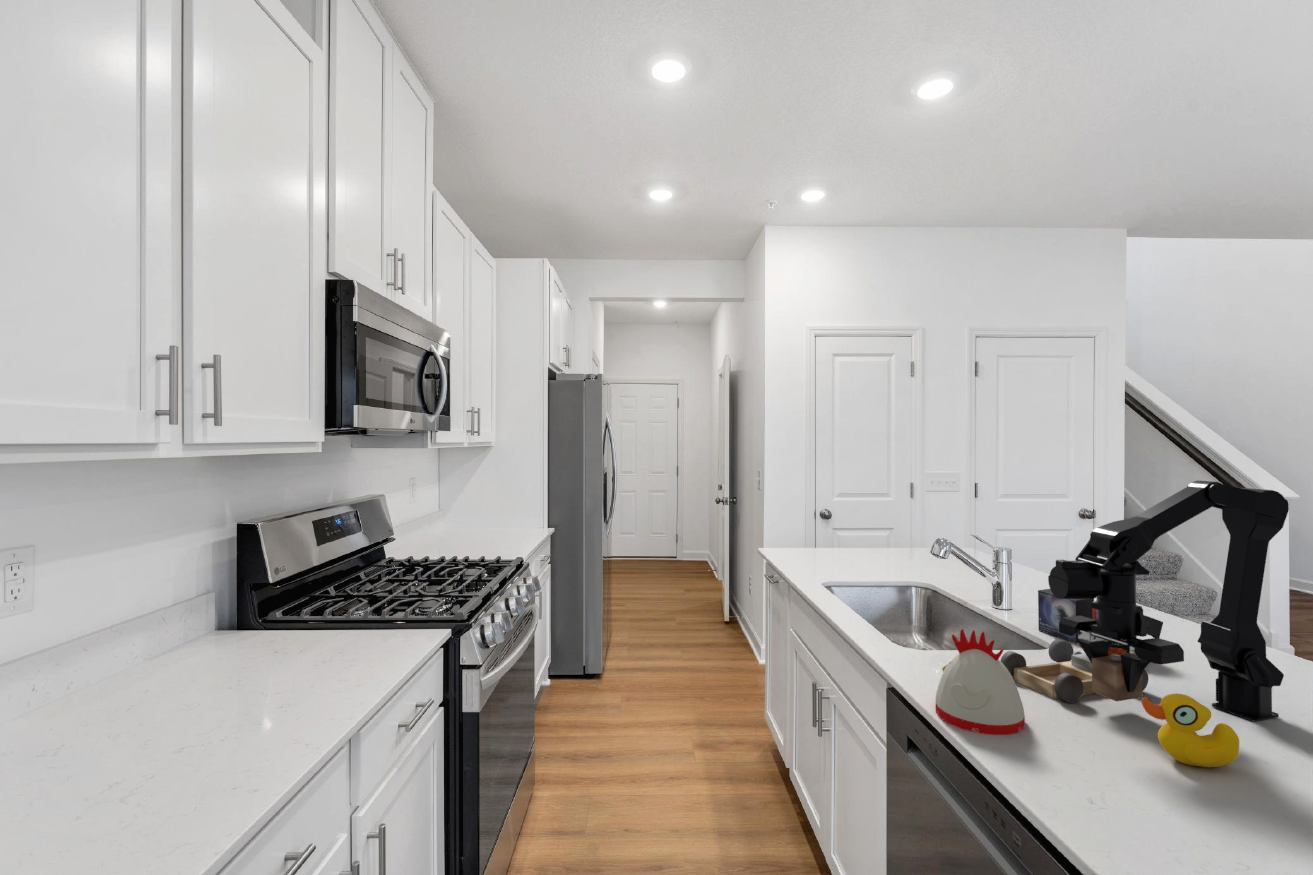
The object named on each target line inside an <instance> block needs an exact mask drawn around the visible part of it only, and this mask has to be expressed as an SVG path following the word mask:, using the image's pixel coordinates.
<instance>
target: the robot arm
mask: <svg viewBox="0 0 1313 875" xmlns="http://www.w3.org/2000/svg"><path fill="white" fill-rule="evenodd" d="M1289 505H1290V504H1289V500H1288V499H1286V498H1285V497H1284V495H1283V493H1280V492H1278V491H1277V490H1273V489H1262V488H1248V487H1236V486H1231V485H1227V484H1224V483H1222V482H1219V481H1208V480H1195V481H1192V482H1190V483H1189V484H1188V485H1187V486H1186V487H1184V488H1182V489H1181V490H1179V491H1177V492H1175V493H1174V494H1172V495H1170V496H1169V497H1167V498H1164V499H1163V500H1161V501H1160V502H1158V503H1156V504H1155V505H1153V506H1151V507H1149V508H1147V509H1146V510H1144V511H1142V512H1140V513H1138V514H1137V515H1135V516H1133V517H1130V518H1125V519H1121V520H1116V521H1112V522H1108V523H1105V524H1103V525H1100V526H1098V527H1095V528H1094V529H1093V530H1092V531H1091V532H1090V533H1089V535H1090V536H1089V540H1088V541H1087V543H1086V544H1085V545H1084V546H1083V548H1082V549H1081V550H1080V552H1079V553H1078V554H1077V556H1076V557H1075V560H1066V559H1056V560H1055V566H1054V567H1052V569H1051V570H1050V573H1049V575H1048V577H1047V580H1048V587H1049V589H1051V592H1052V593H1053V595H1054V596H1055V597H1056V598H1058V599H1094V600H1095V599H1096V600H1095V601H1097V602H1091V608H1094V609H1097V620H1094V619H1090V618H1087V617H1083V616H1072V617H1063V618H1062V619H1061V620H1060V621H1059V632H1060V633H1063V634H1066V635H1069V636H1074V635H1076V634H1077V631H1078V639H1075V642H1077V643H1076V644H1078V645H1079V646H1080V648H1081V649H1082V650H1083V652H1084V654H1085V655H1087V657H1088V658H1089V660H1090V662H1091V664H1092V658H1096V657H1103V656H1108V650H1109V648H1110V646H1111V644H1112V642H1114V643H1117V644H1120V645H1123V646H1126V647H1129V648H1130V653H1128V654H1121V662H1122V667H1123V673H1124V679H1125V685H1126V688H1127V691H1128V692H1134V691H1135V688H1136V686H1137V684H1138V682H1139V680H1140V678H1141V676H1142V674H1143V672H1144V670H1146V668H1147V667H1148V666H1149V664H1150V663H1152V664H1154V665H1155V664H1156V665H1168V664H1174V663H1182V662H1184V661H1185V652H1184V648H1182V646H1181V645H1180V644H1179V643H1177V642H1173V641H1169V640H1167V639H1164V638H1160V636H1161V632H1162V629H1163V626H1164V621H1161V620H1159V619H1156V618H1153V617H1151V616H1148V615H1144V609H1143V606H1142V605H1137V576H1138V575H1139V576H1140V575H1143V576H1145V575H1149V574H1150V571H1149V570H1148V569H1147V568H1145V566H1143V565H1141V563H1140V562H1139V561H1138V560H1140V559H1141V558H1142V557H1143V556H1144V555H1146V553H1148V552H1149V551H1151V549H1152V547H1153V545H1154V542H1155V541H1156V540H1157V539H1159V538H1160V537H1161V536H1163V535H1164V534H1167V533H1168V532H1170V531H1172V530H1174V529H1175V528H1177V527H1180V526H1181V525H1182V524H1184V523H1186V522H1187V521H1190V520H1191V519H1193V518H1195V517H1196V516H1199V515H1200V514H1202V513H1204V512H1206V511H1208V510H1209V509H1211V508H1215V509H1220V510H1221V517H1222V521H1223V523H1224V525H1225V528H1226V529H1227V531H1228V533H1229V545H1228V550H1227V557H1226V563H1225V571H1224V578H1223V585H1222V591H1221V598H1220V604H1219V611H1218V613H1217V614H1218V615H1217V616H1215V617H1214V618H1213V619H1212V620H1211V621H1206V620H1202V621H1201V623H1200V635H1199V637H1198V639H1197V643H1199V644H1200V651H1201V653H1202V654H1203V655H1204V656H1205V658H1206V659H1207V662H1208V663H1209V666H1210V668H1211V669H1212V670H1215V671H1217V672H1218V673H1217V676H1218V677H1217V678H1216V679H1215V701H1216V702H1213V703H1212V705H1211V706H1212V707H1213V708H1216V709H1219V710H1221V711H1224V712H1227V713H1228V714H1229V713H1230V714H1232V715H1235V716H1238V717H1240V718H1243V719H1247V720H1250V721H1253V722H1257V721H1262V720H1268V719H1274V718H1278V717H1279V713H1278V712H1275V711H1273V694H1272V693H1273V691H1272V690H1273V687H1280V686H1281V684H1282V683H1283V679H1284V676H1285V674H1284V673H1283V672H1282V671H1281V670H1280V669H1279V668H1278V667H1277V666H1275V665H1274V664H1273V663H1272V662H1271V660H1269V659H1268V658H1267V641H1266V639H1265V638H1264V636H1263V633H1262V631H1261V629H1260V627H1259V625H1258V616H1259V610H1260V603H1261V597H1262V595H1261V594H1262V590H1263V589H1262V588H1263V582H1264V576H1265V570H1266V569H1265V568H1266V563H1267V555H1268V549H1269V543H1270V541H1271V540H1272V539H1273V538H1275V536H1276V535H1277V534H1278V533H1279V532H1280V531H1281V530H1282V529H1283V528H1284V526H1285V521H1286V519H1287V517H1288V513H1289V511H1290V510H1289V509H1290V507H1289ZM1147 636H1150V637H1152V638H1145V639H1141V638H1137V637H1147ZM1121 639H1123V640H1121ZM1124 640H1126V641H1124ZM1075 642H1074V643H1075Z"/></svg>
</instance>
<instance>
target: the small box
mask: <svg viewBox="0 0 1313 875" xmlns="http://www.w3.org/2000/svg"><path fill="white" fill-rule="evenodd" d="M1037 596H1038V597H1037V606H1038V608H1037V610H1038V613H1037V614H1038V615H1037V616H1038V617H1037V618H1038V631H1040V632H1043V633H1046V634H1048V635H1052V636H1055V637H1057V638H1061V639H1063V640H1066V641H1068V642H1071V643H1075V644H1078V643H1077V642H1075V639H1078V631H1077V634H1076V635H1074V636H1069V635H1066V634H1063V633H1060V632H1059V621H1060V620H1061V619H1062V618H1063V617H1072V616H1083V617H1087V618H1090V619H1093V608H1091V602H1094V601H1095V598H1094V599H1058V598H1056V597H1055V596H1054V595H1053V593H1052V592H1051V589H1050V588H1045V589H1038V590H1037Z"/></svg>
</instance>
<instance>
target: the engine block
mask: <svg viewBox="0 0 1313 875" xmlns="http://www.w3.org/2000/svg"><path fill="white" fill-rule="evenodd" d="M1143 691H1144V690H1143V680H1142V676H1141V678H1140V680H1139V682H1138V684H1137V686H1136V688H1135V691H1134V692H1128V691H1127V688H1126V685H1125V679H1124V673H1123V667H1122V662H1121V655H1117V654H1110V656H1103V657H1096V658H1092V692H1095V693H1096V694H1097V695H1100V696H1103V697H1104V698H1107V699H1110V700H1113V701H1115V702H1122V701H1127V700H1128V701H1129V700H1134V699H1135V700H1136V699H1141V698H1144V696H1143V694H1144V693H1143Z"/></svg>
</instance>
